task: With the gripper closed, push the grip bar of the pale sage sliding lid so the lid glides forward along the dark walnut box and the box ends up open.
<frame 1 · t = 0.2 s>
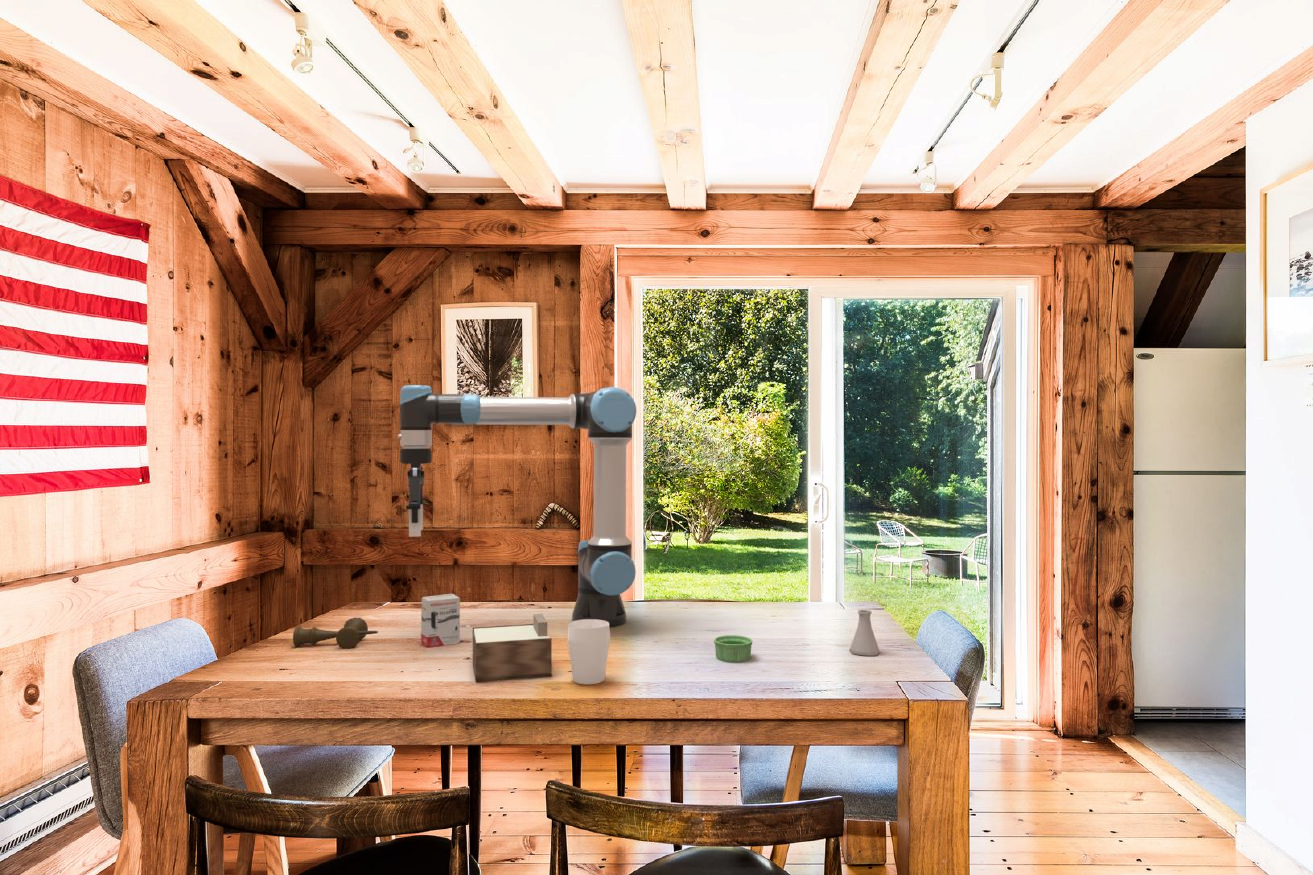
hand: (416, 533, 201), 28 cm above the table, fingers open, 13 cm apart
cup: (588, 681, 172), on the table
lid: (510, 628, 180), point 9 cm above the table, slide at 0.0 cm
kendama: (336, 646, 202), on the table
ramekin: (733, 659, 190), on the table
box: (511, 669, 180), on the table
flask: (864, 653, 194), on the table
ink box: (440, 644, 203), on the table
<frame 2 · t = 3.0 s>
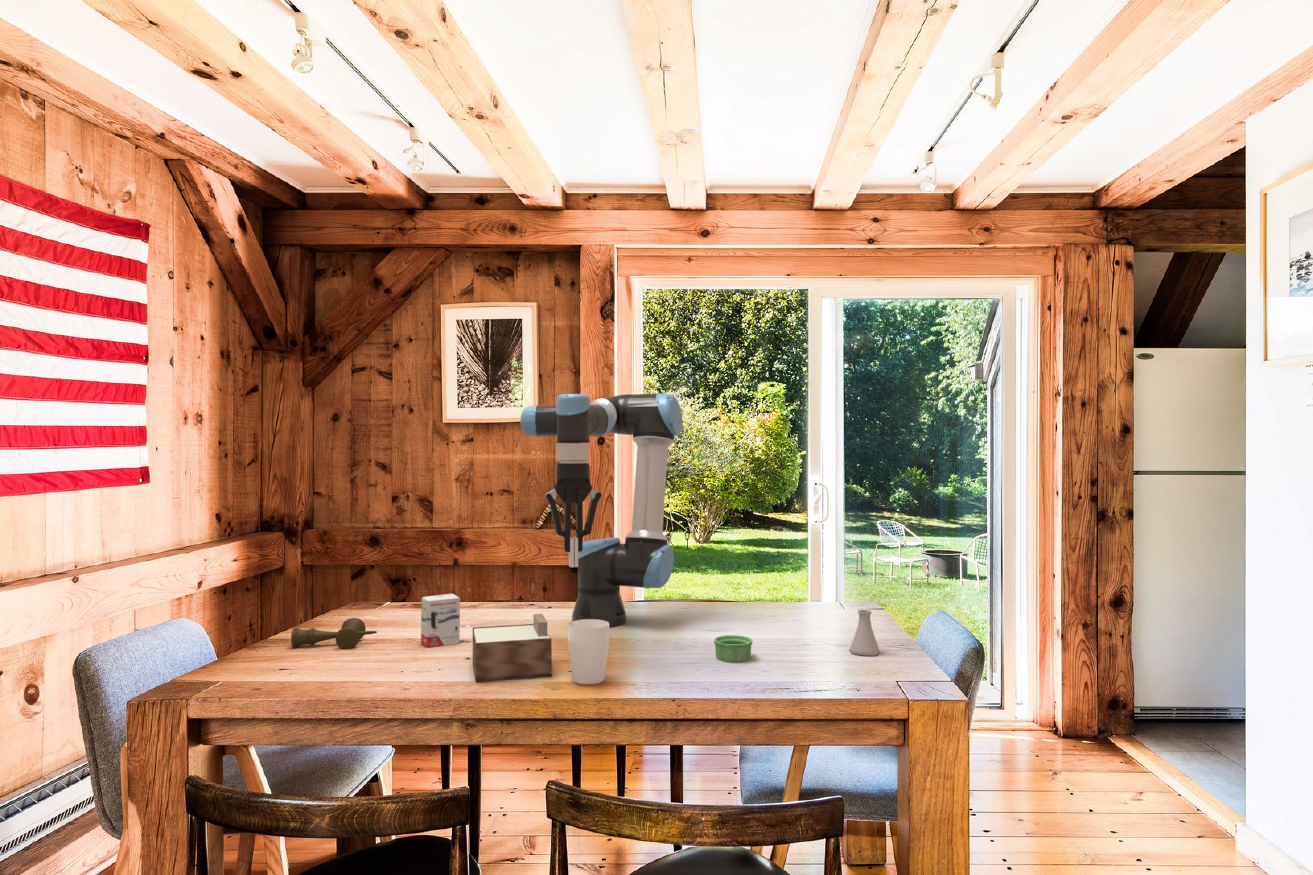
hand: (573, 566, 184), 22 cm above the table, fingers closed
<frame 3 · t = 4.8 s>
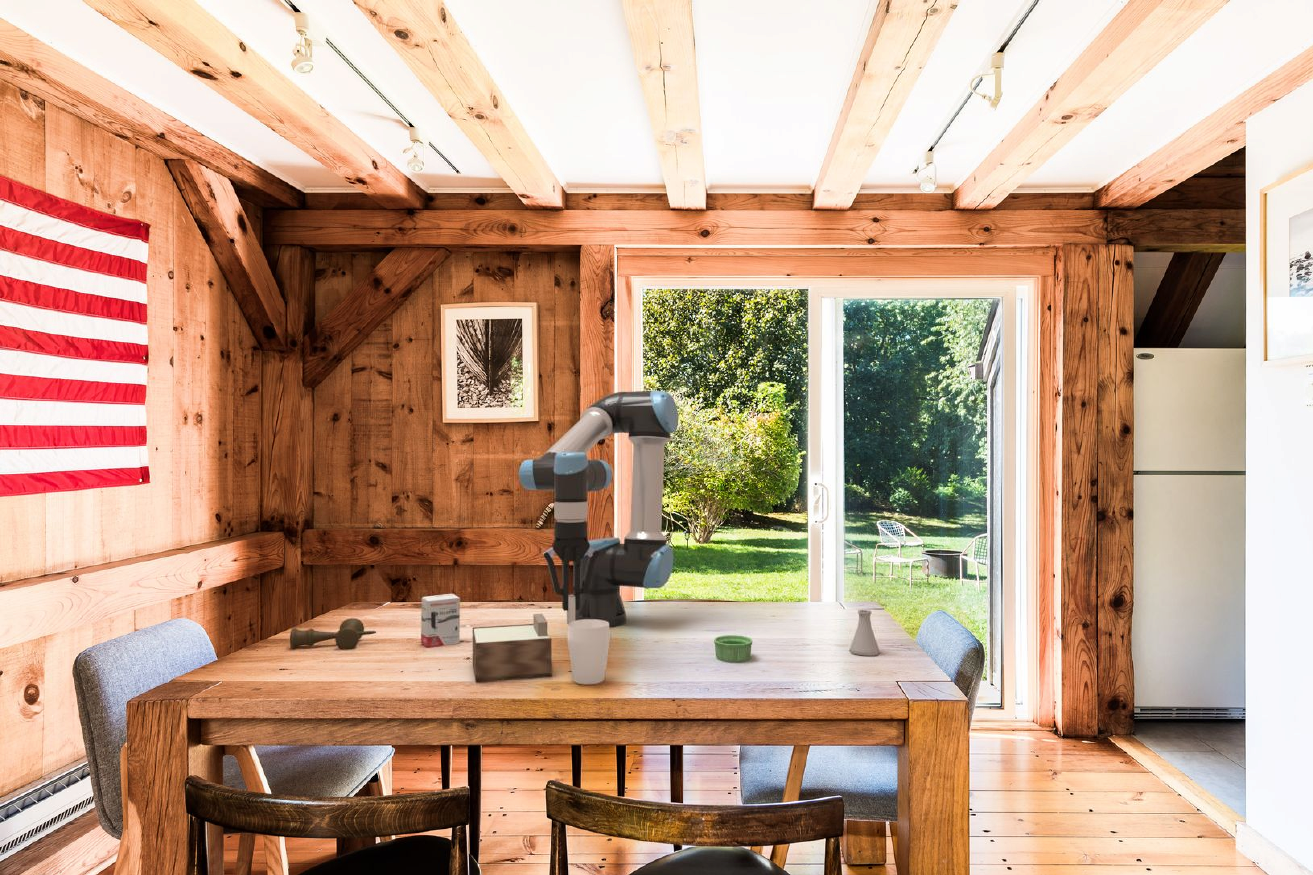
hand: (571, 624, 184), 9 cm above the table, fingers closed
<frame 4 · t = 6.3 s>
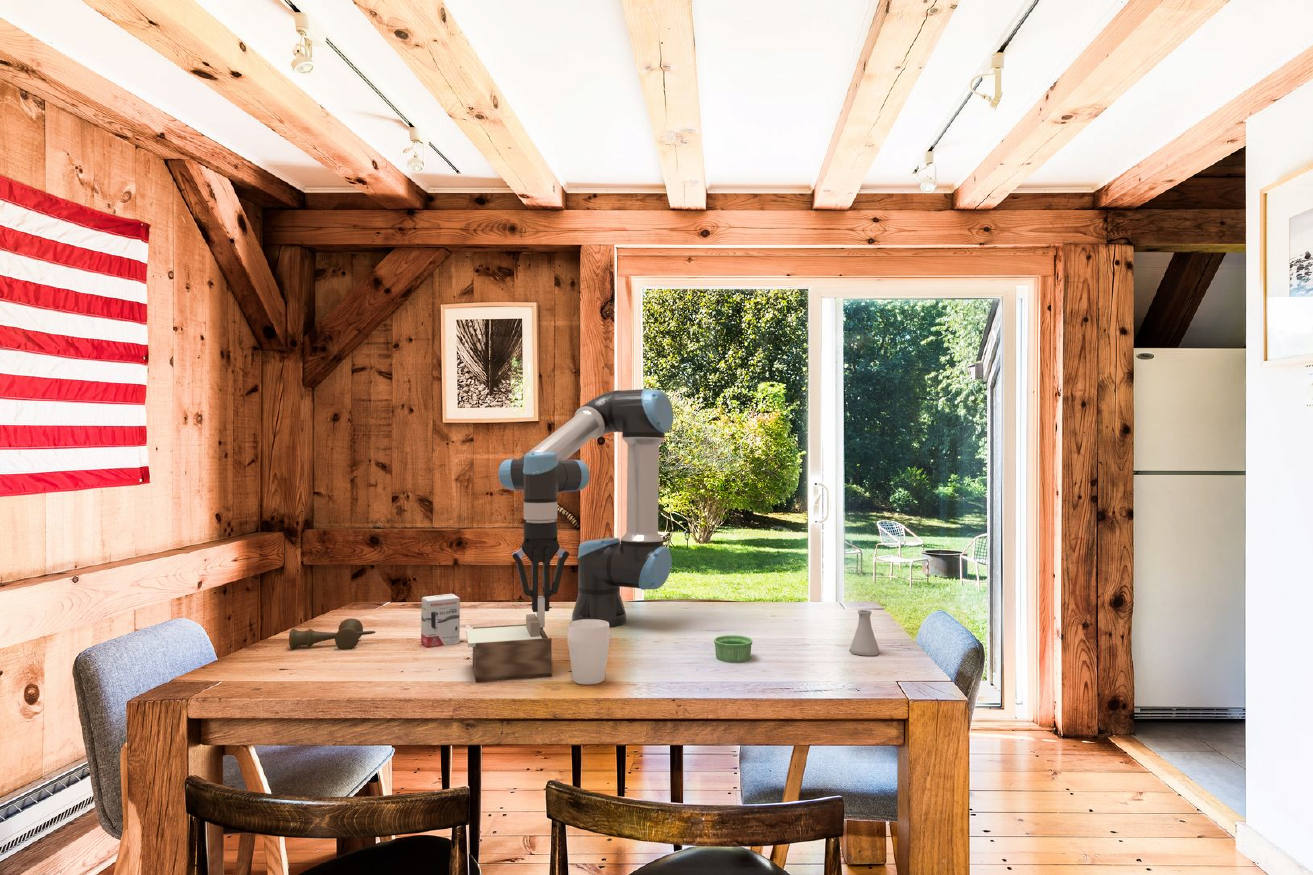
hand: (540, 626, 182), 9 cm above the table, fingers closed
lid: (503, 628, 180), point 9 cm above the table, slide at 1.7 cm, touching gripper
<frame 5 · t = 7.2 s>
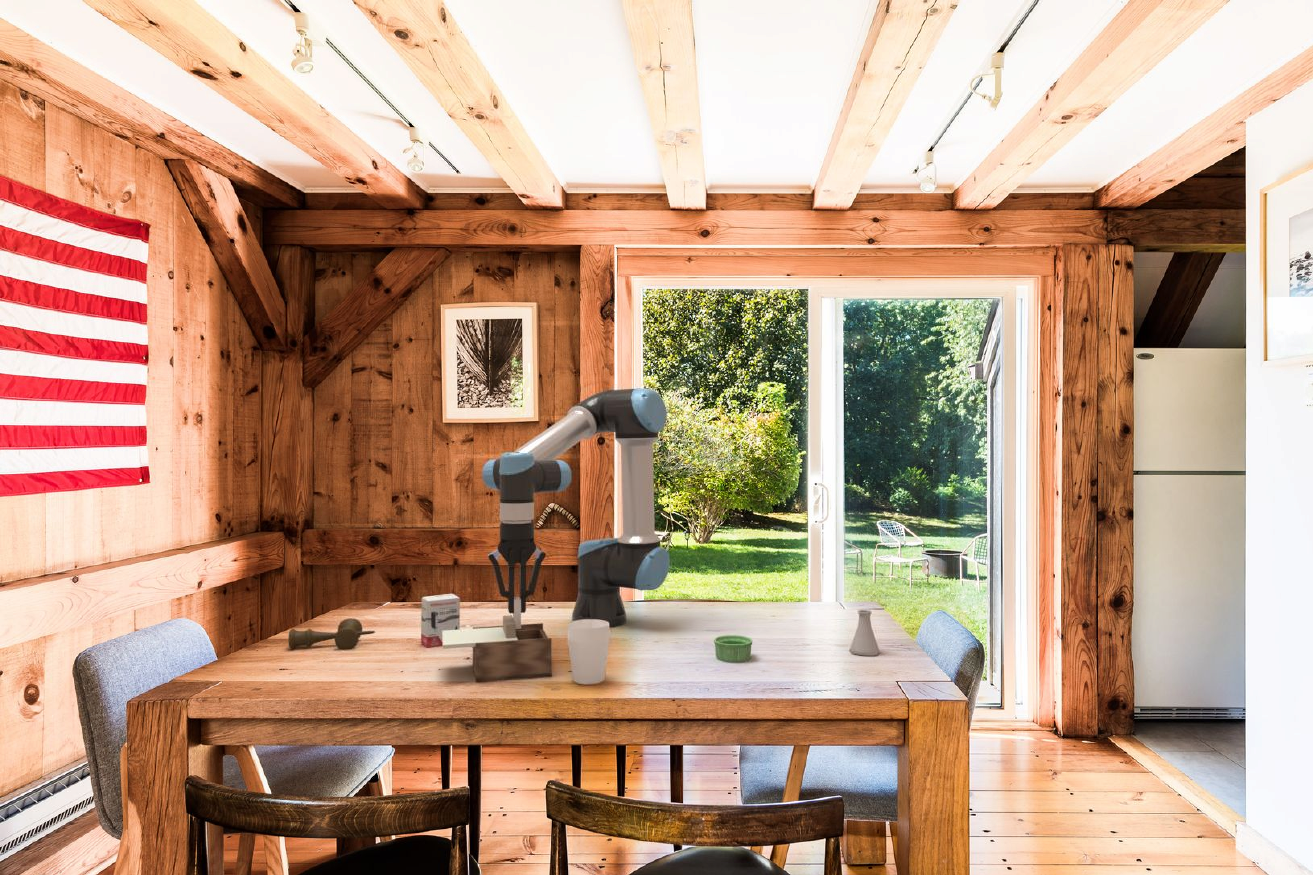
hand: (517, 627, 180), 9 cm above the table, fingers closed
lid: (479, 630, 178), point 9 cm above the table, slide at 6.9 cm, touching gripper
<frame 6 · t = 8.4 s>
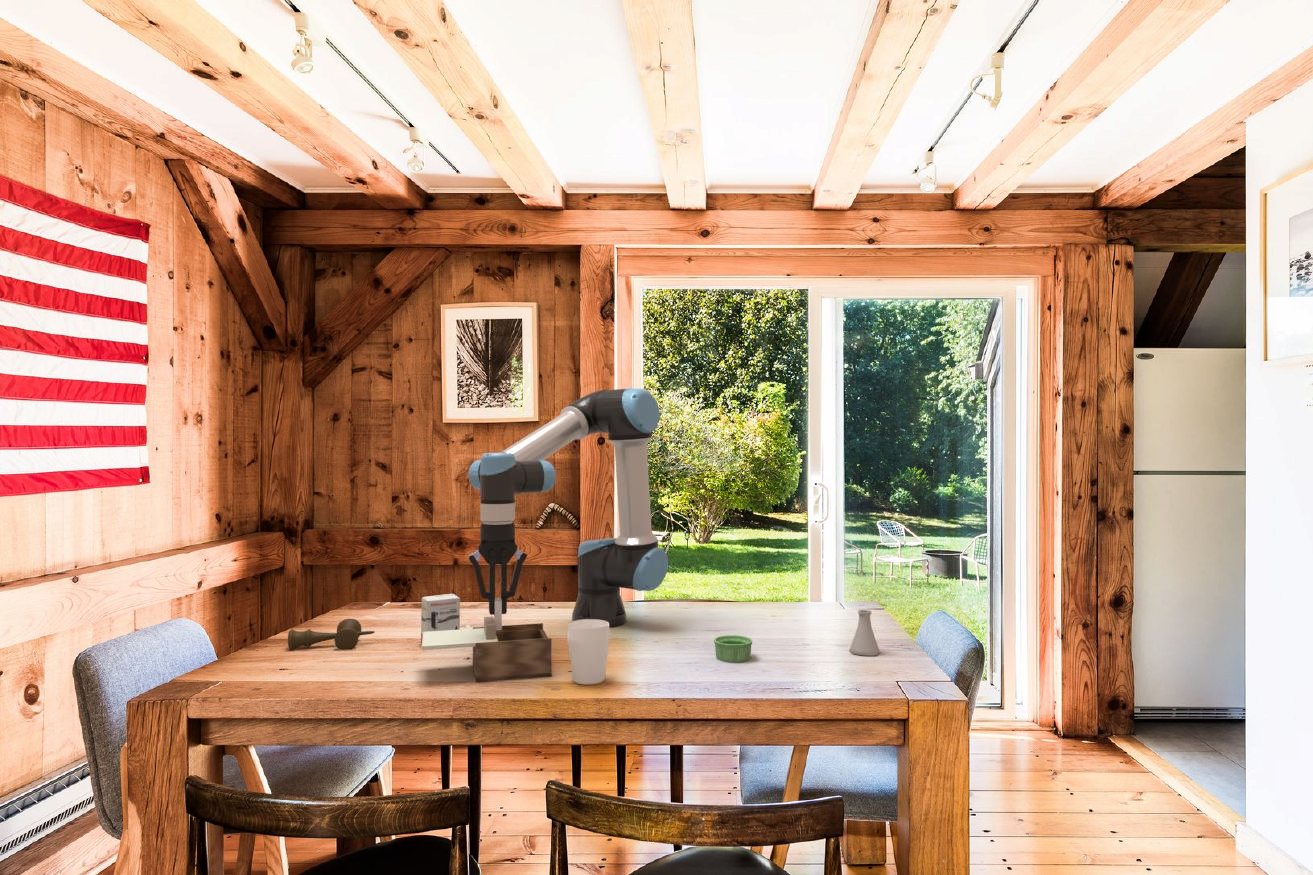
hand: (497, 628, 179), 9 cm above the table, fingers closed
lid: (459, 631, 177), point 9 cm above the table, slide at 11.1 cm, touching gripper
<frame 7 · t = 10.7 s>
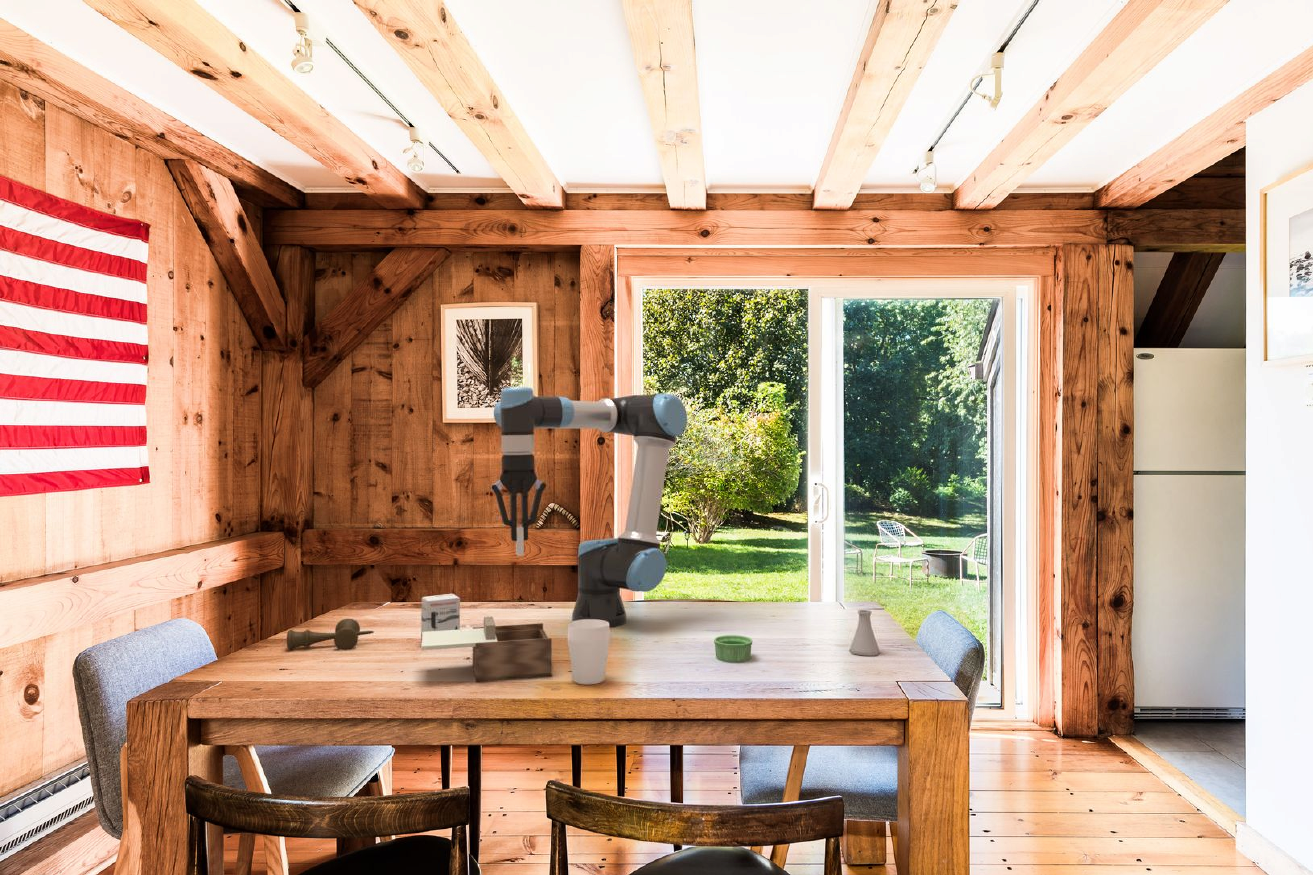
hand: (519, 554, 189), 24 cm above the table, fingers closed
lid: (459, 631, 177), point 9 cm above the table, slide at 11.2 cm
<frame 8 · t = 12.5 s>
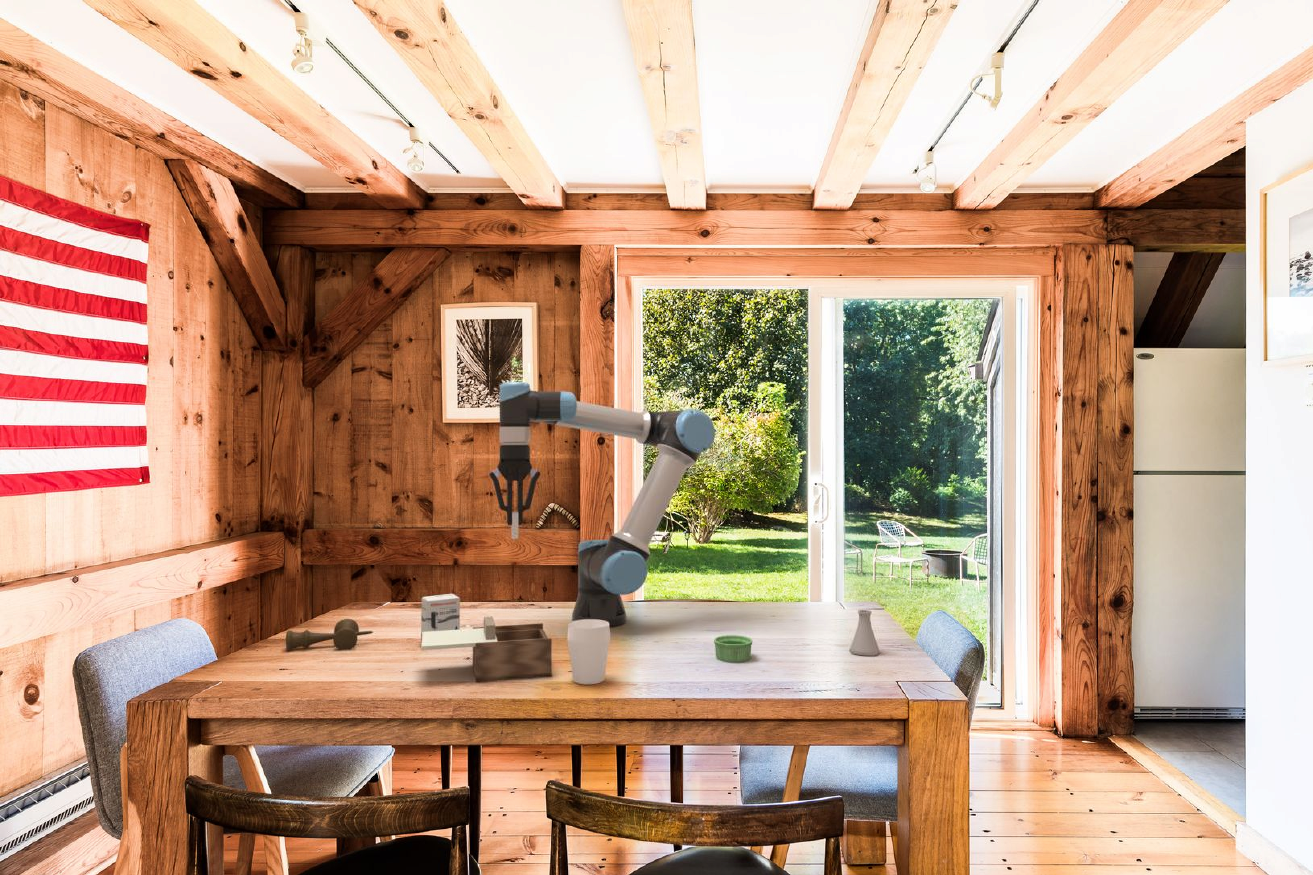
hand: (514, 538, 203), 26 cm above the table, fingers closed
at the end: lid slide at 11.2 cm; the gripper is holding nothing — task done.
